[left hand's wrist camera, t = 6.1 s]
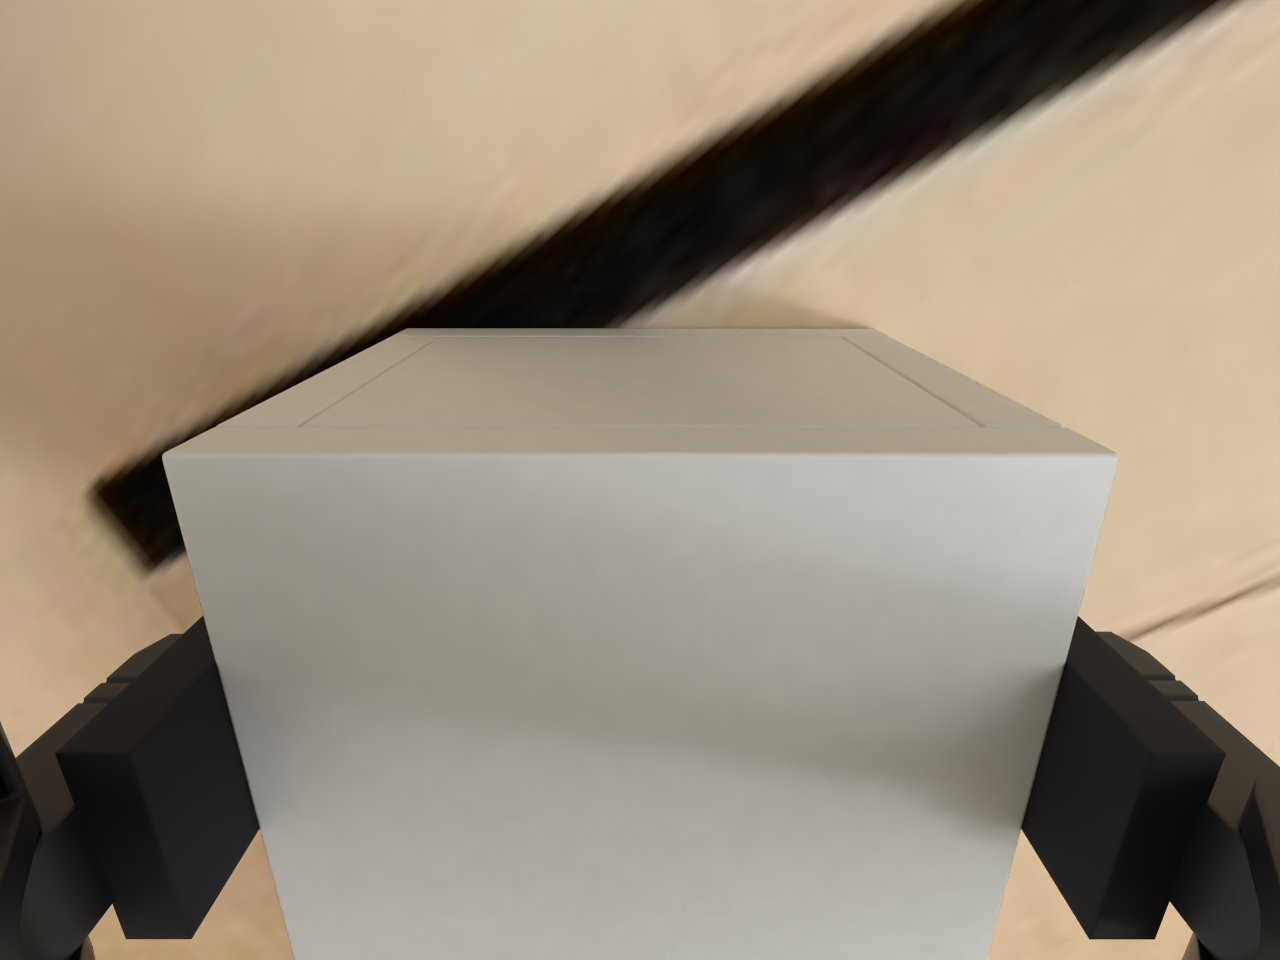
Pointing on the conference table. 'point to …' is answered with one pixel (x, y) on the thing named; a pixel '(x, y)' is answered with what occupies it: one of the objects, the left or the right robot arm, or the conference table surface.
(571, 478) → the cabinet
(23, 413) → the conference table surface
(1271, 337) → the conference table surface
